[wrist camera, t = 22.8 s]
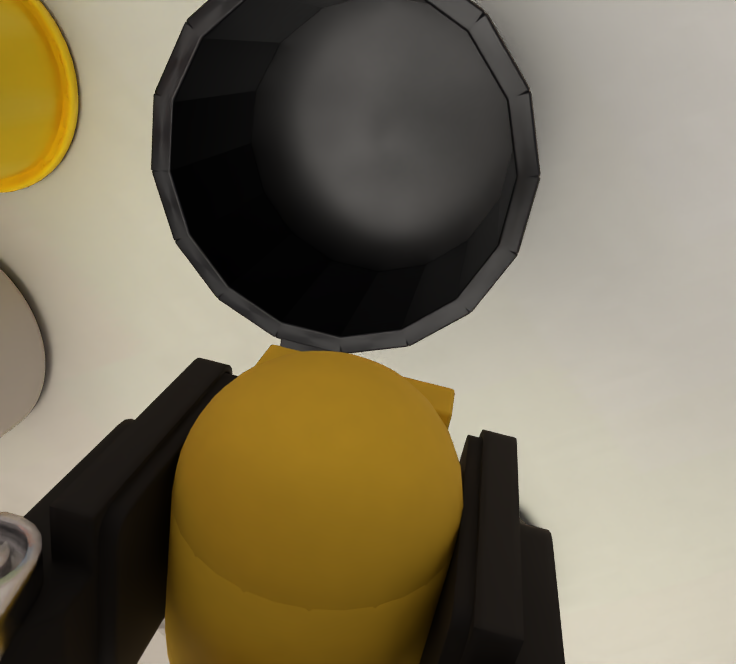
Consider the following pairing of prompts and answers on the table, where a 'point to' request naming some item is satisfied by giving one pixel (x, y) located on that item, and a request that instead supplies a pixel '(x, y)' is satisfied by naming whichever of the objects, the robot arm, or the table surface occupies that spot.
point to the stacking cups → (33, 94)
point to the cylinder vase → (18, 357)
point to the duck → (312, 516)
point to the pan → (345, 164)
